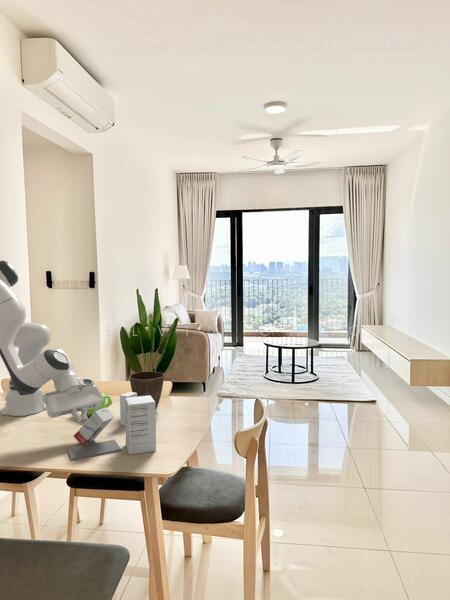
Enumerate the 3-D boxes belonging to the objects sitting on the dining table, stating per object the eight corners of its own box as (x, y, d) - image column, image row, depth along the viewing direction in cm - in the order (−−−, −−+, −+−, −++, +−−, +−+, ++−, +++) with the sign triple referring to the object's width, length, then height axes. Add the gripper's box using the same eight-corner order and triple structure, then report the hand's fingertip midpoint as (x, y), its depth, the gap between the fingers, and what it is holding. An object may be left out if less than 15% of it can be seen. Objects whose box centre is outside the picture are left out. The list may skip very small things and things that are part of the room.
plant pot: (152, 418, 174) (152, 380, 173) (122, 414, 179) (122, 377, 178) (170, 408, 188) (170, 373, 187) (142, 404, 193) (141, 370, 192)
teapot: (113, 414, 179) (113, 391, 179) (88, 420, 171) (88, 397, 171) (99, 408, 188) (99, 386, 187) (75, 414, 180) (74, 391, 179)
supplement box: (156, 451, 141) (156, 402, 140) (128, 455, 138) (128, 404, 137) (151, 440, 150) (150, 394, 149) (125, 444, 147) (124, 397, 146)
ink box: (81, 446, 143) (103, 422, 142) (72, 436, 144) (94, 411, 143) (94, 439, 152) (115, 416, 150) (85, 429, 153) (106, 406, 151)
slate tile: (67, 449, 142) (67, 447, 142) (114, 441, 150) (114, 439, 150) (71, 460, 134) (71, 458, 134) (121, 450, 142) (121, 449, 142)
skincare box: (129, 420, 172) (129, 391, 172) (137, 421, 170) (137, 392, 170) (119, 424, 167) (119, 395, 166) (128, 426, 165) (128, 396, 164)
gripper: (43, 389, 145) (57, 423, 139) (97, 378, 160) (111, 409, 154) (38, 399, 148) (51, 433, 142) (91, 388, 163) (105, 418, 157)
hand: (83, 420), depth 148 cm, fingers closed
